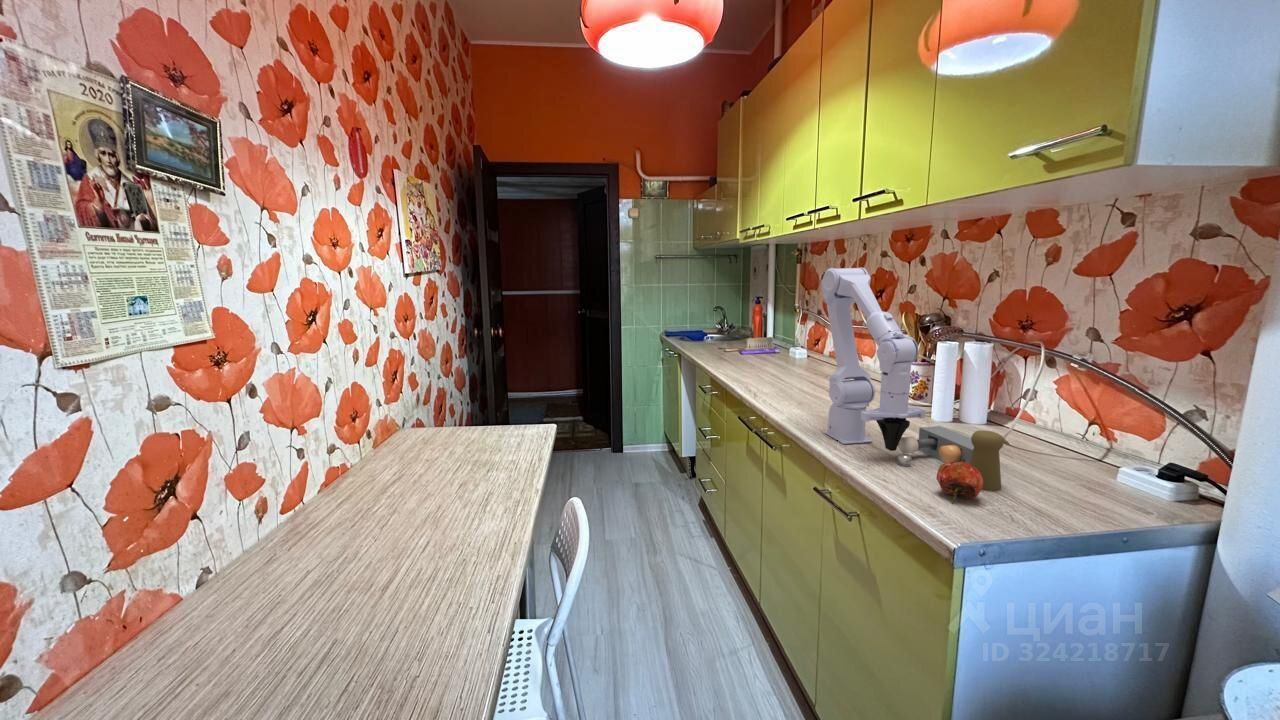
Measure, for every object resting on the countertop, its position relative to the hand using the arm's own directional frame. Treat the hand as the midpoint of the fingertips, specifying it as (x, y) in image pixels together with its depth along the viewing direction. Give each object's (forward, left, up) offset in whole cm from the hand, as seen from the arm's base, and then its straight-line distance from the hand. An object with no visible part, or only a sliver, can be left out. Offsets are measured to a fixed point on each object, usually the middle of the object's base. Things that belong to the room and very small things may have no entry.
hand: (890, 449), depth 112 cm
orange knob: (+7, +13, -1) cm, 14 cm away
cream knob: (0, +8, -1) cm, 8 cm away
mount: (+3, +13, -2) cm, 14 cm away
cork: (+16, +9, -3) cm, 19 cm away
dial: (+3, +1, -2) cm, 4 cm away
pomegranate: (+20, 0, -3) cm, 20 cm away
